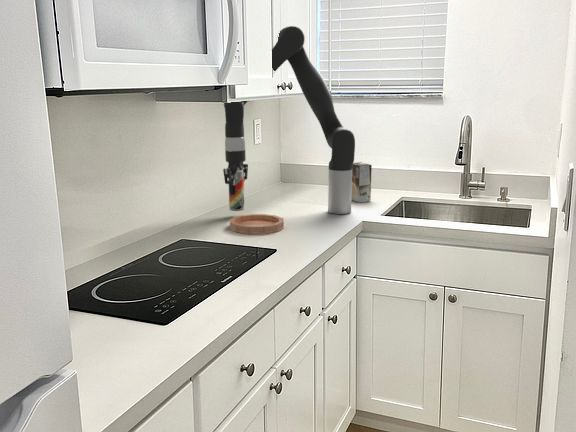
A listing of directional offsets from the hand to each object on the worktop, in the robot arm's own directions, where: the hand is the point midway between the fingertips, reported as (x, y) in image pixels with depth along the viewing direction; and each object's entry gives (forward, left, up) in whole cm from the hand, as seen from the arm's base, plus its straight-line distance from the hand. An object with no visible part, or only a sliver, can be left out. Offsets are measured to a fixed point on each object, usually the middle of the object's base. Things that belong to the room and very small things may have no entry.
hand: (236, 192), depth 220 cm
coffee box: (-51, +31, -10) cm, 60 cm away
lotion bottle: (0, 0, -7) cm, 7 cm away
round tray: (+10, +15, -9) cm, 20 cm away
